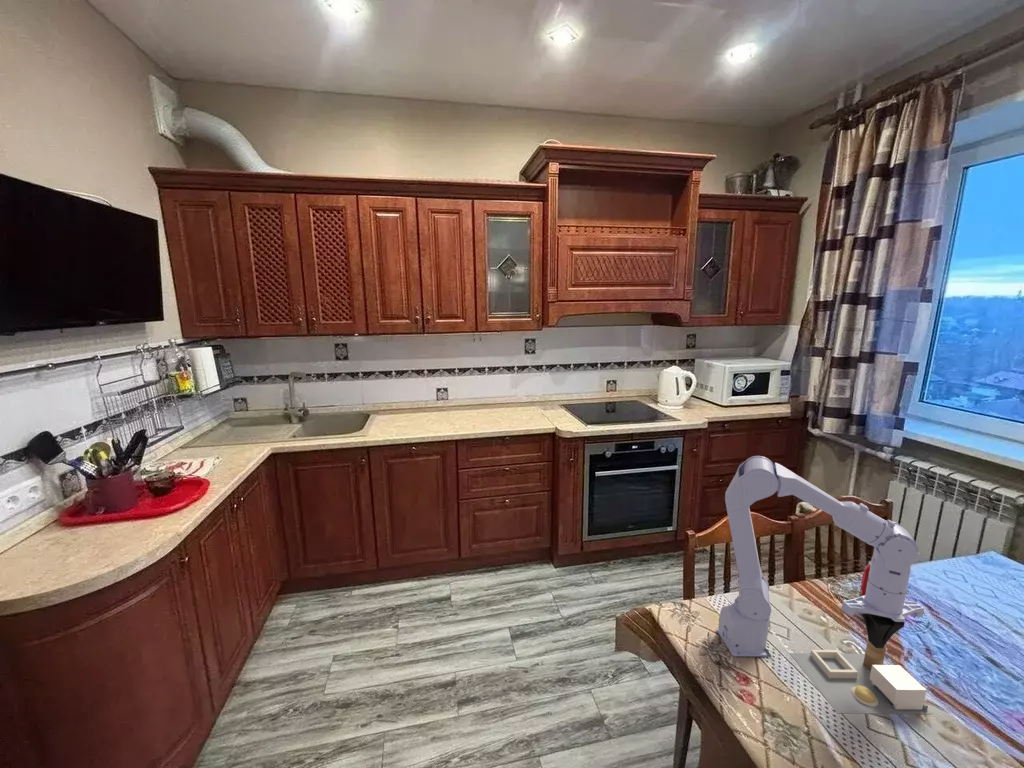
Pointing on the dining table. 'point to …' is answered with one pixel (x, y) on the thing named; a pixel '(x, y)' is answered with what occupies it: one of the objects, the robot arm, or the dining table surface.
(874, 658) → the peg
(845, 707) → the board
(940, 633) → the dining table surface
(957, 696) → the dining table surface
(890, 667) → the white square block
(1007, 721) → the dining table surface
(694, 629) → the dining table surface
